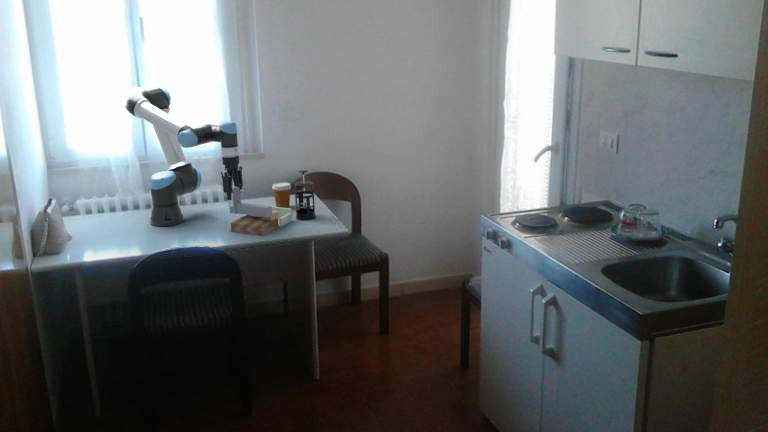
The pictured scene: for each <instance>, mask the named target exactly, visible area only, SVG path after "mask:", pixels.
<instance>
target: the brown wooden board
mask: <svg viewBox="0 0 768 432" xmlns="http://www.w3.org/2000/svg"><path fill="white" fill-rule="evenodd" d="M277 228H280V227H279V224H278V218H277V219H274V220H271V221H270V220H266V219H263V217H253V216H250V215H244V216H242V217H240V218H237V219H236V220H233V221H232V222H230V231H231V232H235V233H241V234H242V233H243V234H249V235H251V234H252V235H258V236H265V235H267V234H268V233H270V232H272V231H274V230H276V229H277ZM266 233H267V234H266Z"/></svg>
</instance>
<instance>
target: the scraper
mask: <svg viewBox="0 0 768 432" xmlns="http://www.w3.org/2000/svg"><path fill="white" fill-rule="evenodd" d="M232 193H233V198H234V207H231V206H228V207H229V214H234V215H238V214H239V215H244V216H245V215H252V216H260V217H271V216H273V213H272V207H273V205H264V204H256V203H246V202H242V198H241V190H240V189H239V187H237V186H234V185H232Z"/></svg>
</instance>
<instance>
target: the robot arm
mask: <svg viewBox="0 0 768 432" xmlns="http://www.w3.org/2000/svg"><path fill="white" fill-rule="evenodd" d="M171 100H172V99H171V95H170V92H169V91H168V89H167V88H165V87H164V86H162V85H158V84H153V85H146V86H140V87H133V88H131V89H130V90H128V91H127V92H126V93H125V95H124V98H123V103H124V104H123V105H124V108H125V109H126V110H127V112H128V113H129V114H131V115H132V116H134V117H136V118H137V119H143V120H145V121H147V122H148V123H150V124H151V125H152V126H153V129H154V132H155V134H156V136H157V139H158V143H159V144H160V147H161V149H162V152H163V155H164V158H165V160H166V163H167V165H168V168H167V170H163V171H158V172H156V173H154V174H152V175H151V176H150V177H149V188H150V189H149V190H150V195H151V202H152V210H151V216H150V224H151V225H153V226H156V227H170V226H175V225H178V224H179V225H180V224H181V223H183V222H184V221H185V217H184V214H183V213H182V209H181V208H180V205H179V197H181V196H185V195H188V194H191V193H193V192H195V191H197V190H198V189H199V188H200V187H201V185H202V182H203V181H202V174H201V172H200V170H199V169H197V168H196V167H194V166H193V164H192V163H191V161H188V160H187V159H186V157H185V154H184V151H183V149H182V148H185V149H186V148H187V149H188V148H194V147H198V146H200V145H205V144H208V143H213V142H214V143H220V147H221V149H220V150H221V156H222V159H221V160H222V165H223V166H224V171H221V172H220V175H221V179H222V191H223V193H225V194H226V197H227V198H226V199H227V204H228V205H227V206H228V207H229V206H231V207H234V198H233V193H232V186H237V187H239V189H240V191H241V190H243V187H244V185H243V174H242V173H243V166H241V165H239V164H240V156H239V142H238V129H237V128H238V127H237V123H236V122H235V121H232V120H227V121H225V120H224V121H220V123H219V125H217V124H216V125H215V124H201V125H200V127H196V128H193V127H191V126H189V125H187V124H186V123H184V122H182V121H180V120H179V119H177V118H175V117H174V116H172V115H170V114H169V112H170V110H171V109H170V105H171Z"/></svg>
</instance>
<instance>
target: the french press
mask: <svg viewBox="0 0 768 432" xmlns="http://www.w3.org/2000/svg"><path fill="white" fill-rule="evenodd" d="M298 172H299V173H300V174H301V175H302V177H303V180H302V181H297V182H295V183H294V184H293V185H294V186H295V190H297V191H296V192H295V193H294V198H295V199H294V201H295V202H294V203H295V215H296V216H295V219H296V220H297V221H302V222H304V221H311V220H314V219H316V218H317V217H316V210H315V209H316V208H315V205H316V204H315V192H314V191H311V190H306V189H305V187H309V188H312V189H313V188H314V186H313V185H314V182H313V181H309V180H308V181H307V180H305V174H306V173H308V172H309V171H308V170H306V169H304V170H302V169H301V170H298ZM311 199H312V202H311Z"/></svg>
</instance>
